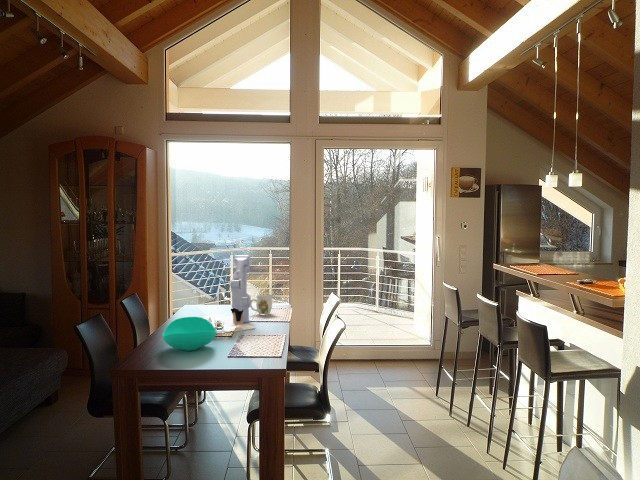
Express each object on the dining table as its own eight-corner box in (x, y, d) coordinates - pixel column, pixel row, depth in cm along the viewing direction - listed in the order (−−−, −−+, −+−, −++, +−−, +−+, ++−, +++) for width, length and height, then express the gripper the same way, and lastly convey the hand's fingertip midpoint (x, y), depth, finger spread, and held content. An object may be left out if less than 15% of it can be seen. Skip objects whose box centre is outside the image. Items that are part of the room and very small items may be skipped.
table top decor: (219, 357, 248) (218, 330, 247) (161, 362, 240) (160, 335, 239) (214, 337, 286) (213, 315, 285) (164, 341, 278) (163, 318, 277)
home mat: (219, 328, 309) (219, 327, 309) (246, 324, 318) (246, 323, 318) (227, 332, 297) (227, 331, 297) (255, 328, 306) (255, 327, 306)
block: (233, 323, 308) (233, 312, 308) (240, 322, 310) (240, 311, 310) (235, 325, 304) (235, 313, 304) (242, 324, 306) (242, 313, 306)
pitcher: (251, 313, 354) (250, 294, 353) (276, 312, 355) (275, 293, 354) (249, 316, 343) (248, 296, 342) (275, 315, 344) (274, 296, 343)
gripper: (246, 300, 302) (247, 322, 302) (239, 296, 314) (239, 317, 315) (235, 301, 298) (236, 323, 299) (228, 297, 311) (228, 318, 312)
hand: (237, 320), depth 307 cm, fingers closed on block, 4 cm apart
